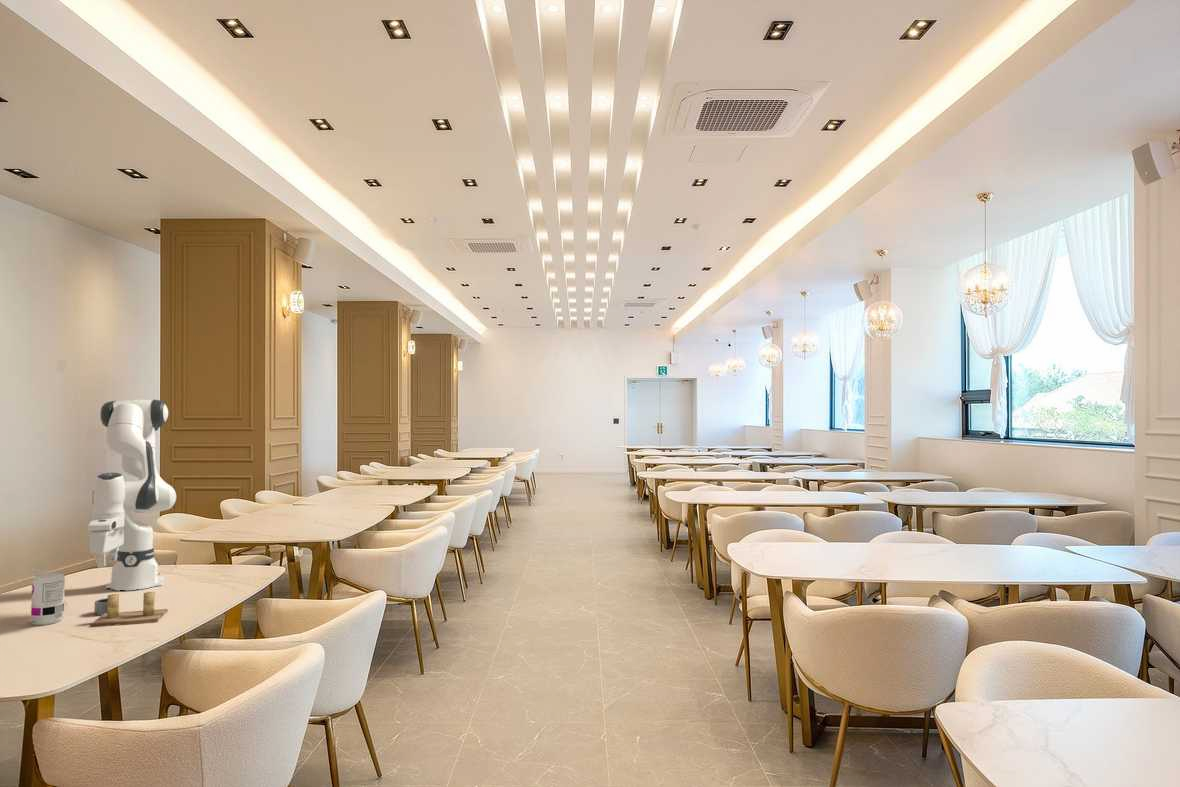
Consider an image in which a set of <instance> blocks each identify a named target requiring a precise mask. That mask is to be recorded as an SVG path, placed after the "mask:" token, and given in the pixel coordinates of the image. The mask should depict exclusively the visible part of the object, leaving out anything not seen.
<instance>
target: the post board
mask: <svg viewBox="0 0 1180 787" xmlns="http://www.w3.org/2000/svg"><path fill="white" fill-rule="evenodd" d="M107 598H108V604H107V613H105V614H103V615H100V616H99V617H98V618H97V619H95V620H94V621H93V622H91V623H90V625H91V626H92V627H91V626H90V627H91V628H94V626H96V627H107V626H106V625H110V626H116V625H115V624H123V625H130V624H129V623H137V624H144V623H143V622H150V623H157V622H156V621H158V620H159V619H160V618H161V617H162V616H163V615H164V614H165V613H166V612H167V613H168V608H163V609H161V608H160V609H155V591H146V592H143V604H142V605H143V608H142V609H143V610H134V611H133V610H132V611H121V612H120V611H119V610H120V609H119V608H120V606H119V605H120V594H119V593H111V594H108V595H107ZM167 613H166V614H167ZM166 614H165V615H166ZM165 615H164V616H165ZM164 616H163V617H164ZM163 617H162V618H163ZM162 618H161V619H162ZM161 619H160V620H161ZM160 620H159V621H160ZM159 621H158V622H159Z"/></svg>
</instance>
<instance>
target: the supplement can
mask: <svg viewBox="0 0 1180 787" xmlns="http://www.w3.org/2000/svg"><path fill="white" fill-rule="evenodd" d="M65 578H66V576H65V575H64V574H63V572H61V571H51V572H42V573H38V574H35V575H34V577H33V579H32V580H31V582H32V583H31V605H30V606H31V609H30V610H31V611H30V613H31V615H30V623H32V625H34V626H46V625H52V623H54V624H58V623H60V622H61V621H62V620H63V619H64V611H65V607H64V606H65V582H66V579H65ZM59 621H60V622H59Z"/></svg>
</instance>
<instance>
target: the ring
mask: <svg viewBox="0 0 1180 787" xmlns="http://www.w3.org/2000/svg"><path fill="white" fill-rule="evenodd" d="M107 604H108V597H107V598H106V597H105V598H101V599H97V600H95V601H94V606H93V607H94V608H93V610H94V611H93V614H94V615H95V614H99V615H98V616H102V615H103V614H105V613H107Z"/></svg>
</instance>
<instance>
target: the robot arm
mask: <svg viewBox="0 0 1180 787" xmlns="http://www.w3.org/2000/svg"><path fill="white" fill-rule="evenodd" d="M167 406H168V405H167V403H166V402H164V401H163V400H159V399H140V398H137V399H136V398H135V399H126V400H118V401H116V400H111V401H108V402H105V403H104V404H103V405H102V406H101V409H100V412H99V418H100V421H101V424H102V426H104V427H106V428H107V429H106V436H105V438H106V444H107V446H108V448H110V450H112V451H113V453H116V454H118V455H121V469H122V471H123V472H124V473H126V474H127V475H129V476H132V477H135V478H137V479H138V480H136V481H135V480H134V481H133V480H132V481H131V480H130V481H125V478H124V475H123V473H118V472H106V473H101V474H98V475H97V476H96V478H95V481H94V487H93V491H92V504H93V505H94V506H93V507H94V508H93V511H92V518H91V521H90V522H89V524H88V526H87V531H88V532H89V551H90V554H91V555H92V556H96V559H97V563H98V564H97V565H98V568H104V567H106V566H107V560H106V555H107V553H108V552H109V556H108V562H109V563H114V562H116V563H114V564H113V566H112V567H111V577H110V583H109V584H106V586H105V589H106V588H110V590H113V589H114V590H113V591H120V590H125V591H134V590H135V591H136V590H137V589H138V590H144V589H148V588H153V587H157V586H159V587H160V586H163V585H164V581H165V575H163V574H161V573H160V572H159V564H158V562H157V560H156V559H155V546H153V545H154V529H153V526H151V525H150V524H148V523H146V522H143V521H141V520H139V519H137V518H136V517H135V515H136V514H145V513H146V514H148V513H158V512H164V511H168V510H170V509H172V508H173V506H174V505H175V503H176V501H177V493H176V490H175V488H173V486H172V485H170V484H168V483H167V482H166V481H165V480H164V479H162V477H161V476H160V473H159V472H158V469H157V461H156V460H157V458H156V453H157V449H156V446H157V445H156V433H155V432H156V431H158V430H159V428H161V427H163V426H164V425H165V424H166V423H167V419H168V418H169V417H168V416H169V409H168V407H167Z"/></svg>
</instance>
